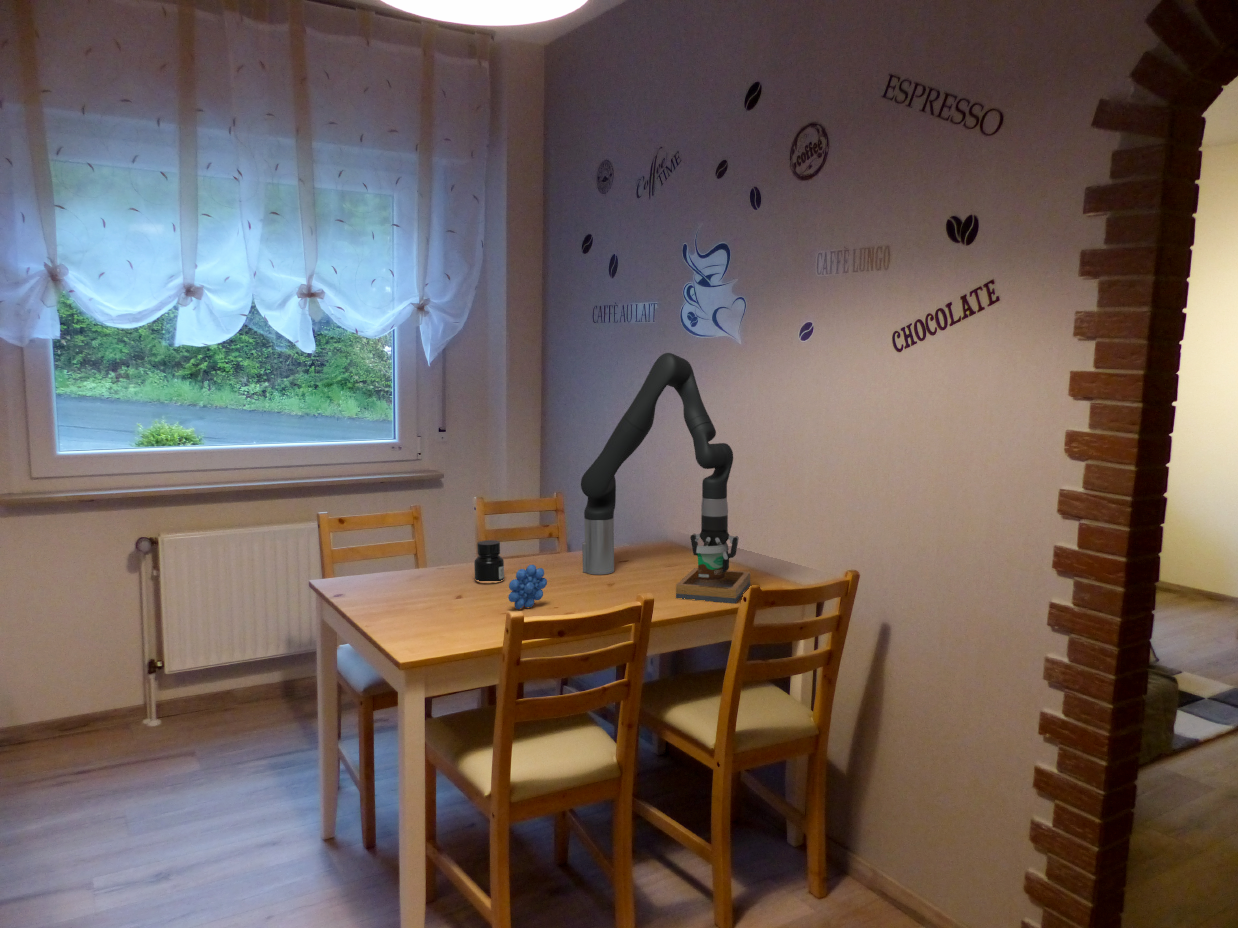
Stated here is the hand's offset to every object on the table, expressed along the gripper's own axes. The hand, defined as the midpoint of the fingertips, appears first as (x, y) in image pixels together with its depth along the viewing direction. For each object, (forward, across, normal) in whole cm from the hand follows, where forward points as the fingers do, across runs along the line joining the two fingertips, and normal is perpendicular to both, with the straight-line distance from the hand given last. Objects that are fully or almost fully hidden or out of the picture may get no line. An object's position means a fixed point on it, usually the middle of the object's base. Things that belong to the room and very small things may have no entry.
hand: (714, 570), depth 263 cm
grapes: (+6, -45, -31) cm, 55 cm away
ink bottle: (+6, -68, -8) cm, 69 cm away
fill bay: (+6, 0, 0) cm, 6 cm away
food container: (+2, +1, 0) cm, 2 cm away
